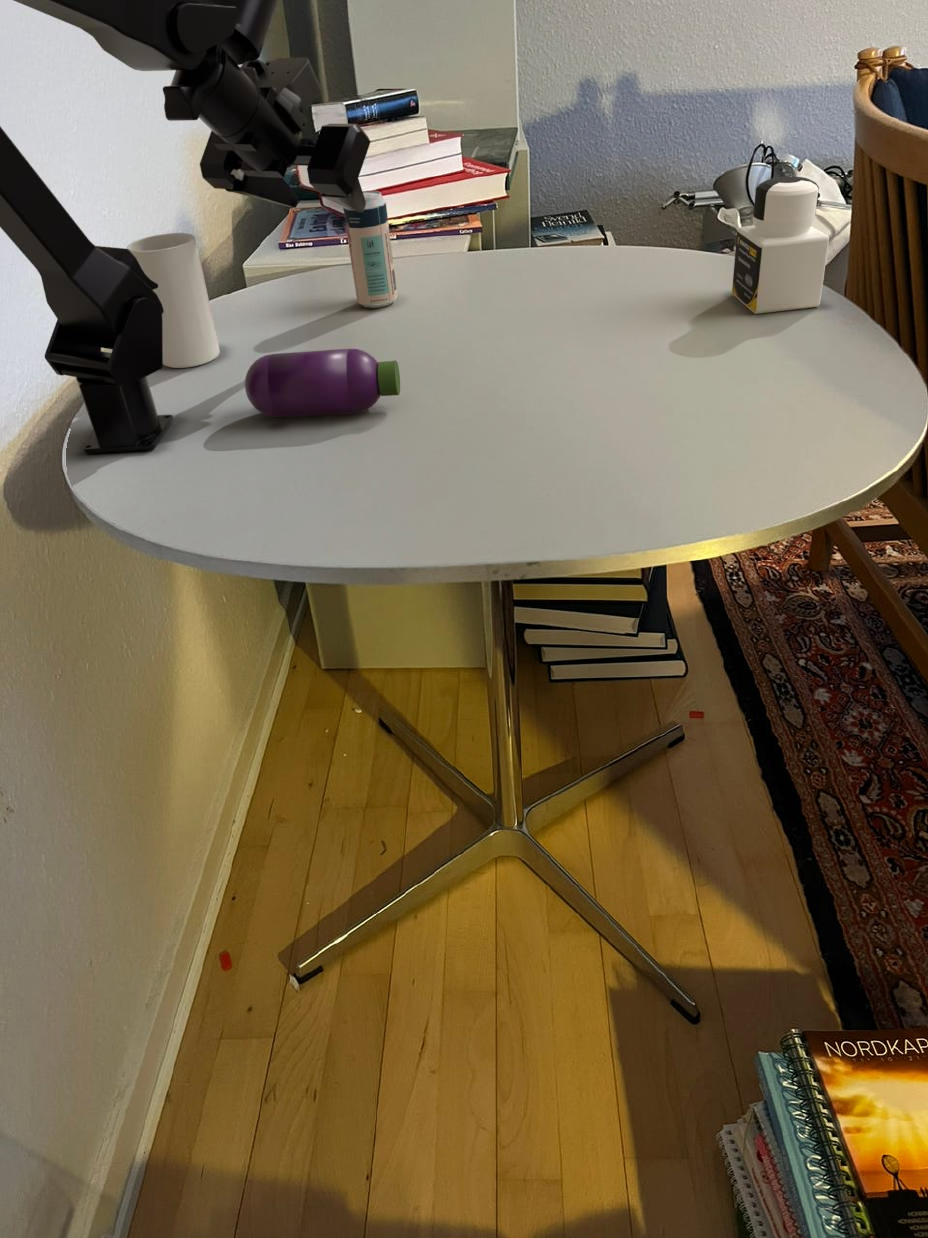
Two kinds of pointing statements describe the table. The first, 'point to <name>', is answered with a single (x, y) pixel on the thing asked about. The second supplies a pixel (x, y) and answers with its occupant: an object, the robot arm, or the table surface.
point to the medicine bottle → (781, 249)
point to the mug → (179, 297)
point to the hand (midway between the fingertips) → (329, 205)
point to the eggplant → (319, 382)
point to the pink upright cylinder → (371, 252)
